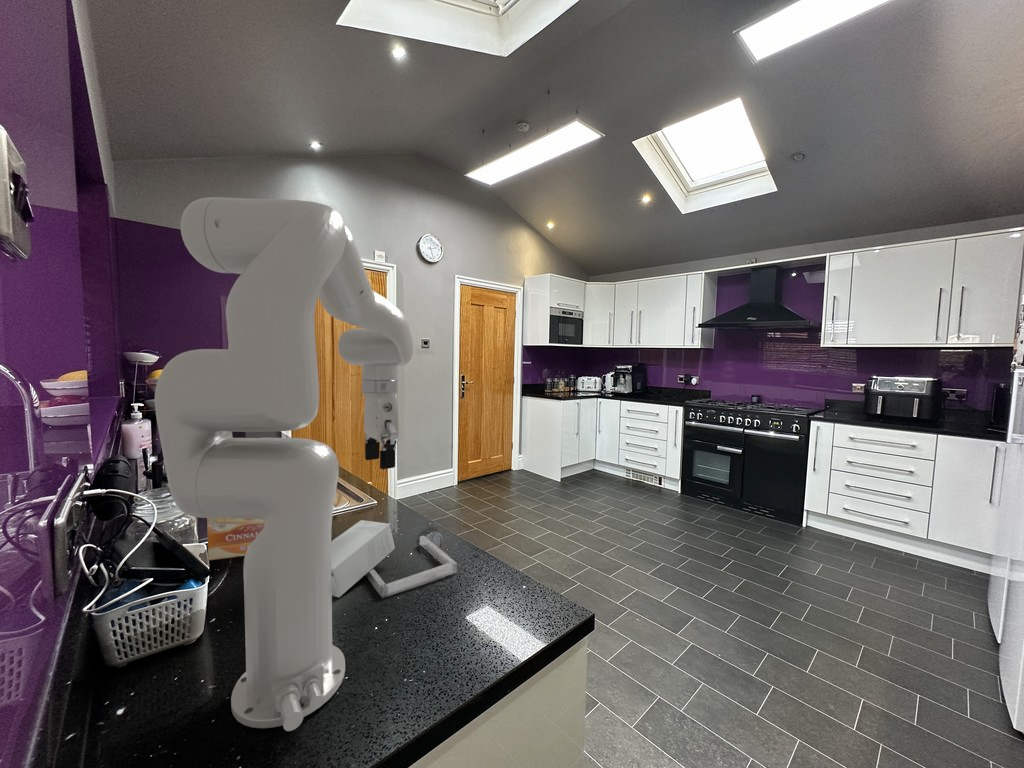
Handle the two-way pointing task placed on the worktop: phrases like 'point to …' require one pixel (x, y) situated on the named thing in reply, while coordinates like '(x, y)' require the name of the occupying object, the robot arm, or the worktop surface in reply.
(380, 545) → the skincare box
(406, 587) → the bracket
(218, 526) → the coffeecake box
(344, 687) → the worktop surface
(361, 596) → the worktop surface
